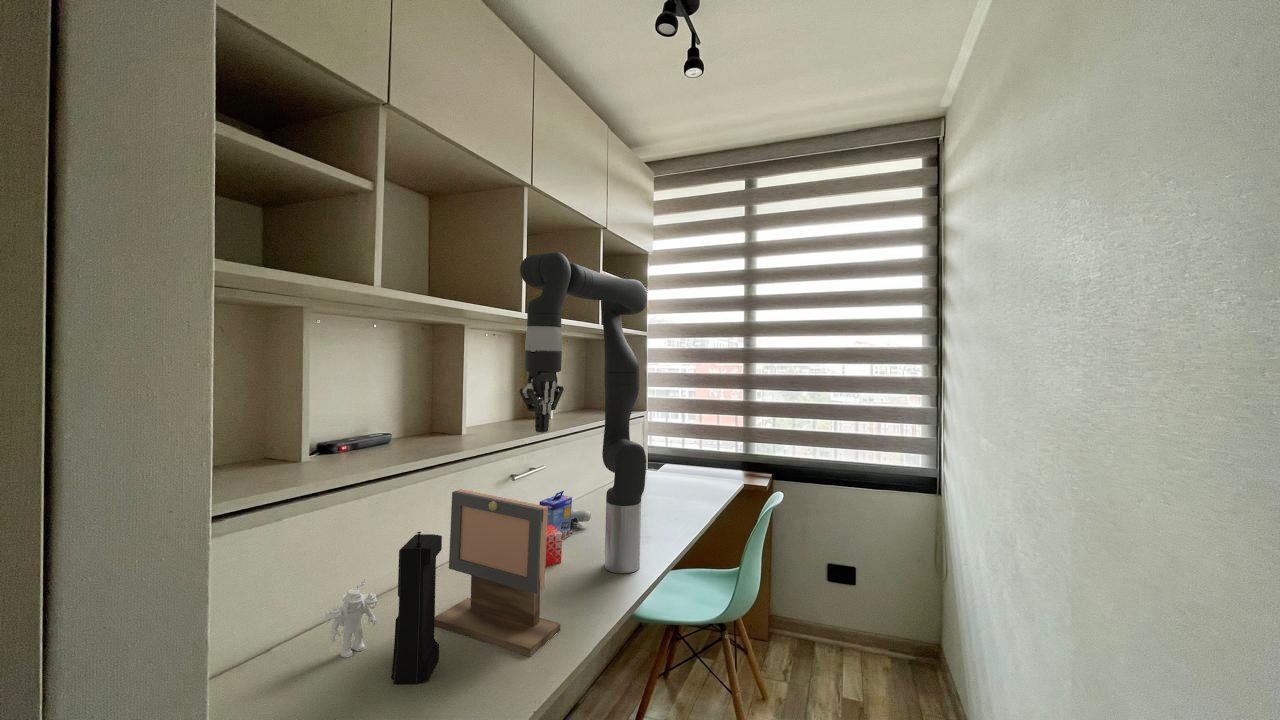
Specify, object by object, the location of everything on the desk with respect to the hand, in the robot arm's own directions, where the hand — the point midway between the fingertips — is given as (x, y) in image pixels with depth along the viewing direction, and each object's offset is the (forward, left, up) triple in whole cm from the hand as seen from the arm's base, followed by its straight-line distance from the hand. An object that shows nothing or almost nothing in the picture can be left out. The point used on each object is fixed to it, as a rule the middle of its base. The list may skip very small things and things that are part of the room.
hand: (541, 431), depth 107 cm
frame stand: (+7, -5, -39) cm, 40 cm away
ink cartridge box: (-41, -23, -39) cm, 61 cm away
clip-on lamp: (-52, -27, -39) cm, 71 cm away
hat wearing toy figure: (+25, -23, -39) cm, 52 cm away
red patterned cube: (-26, -17, -39) cm, 50 cm away
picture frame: (+7, -5, -29) cm, 30 cm away
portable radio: (+24, -8, -39) cm, 47 cm away
